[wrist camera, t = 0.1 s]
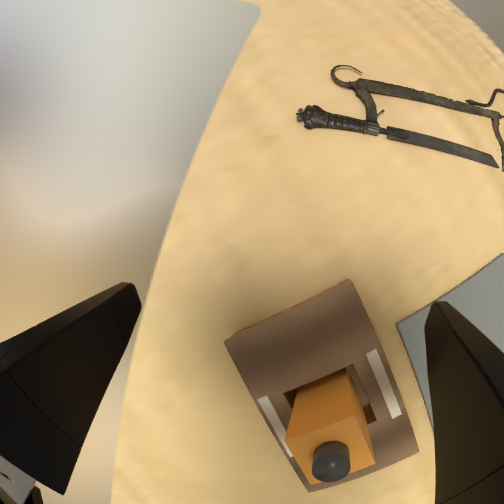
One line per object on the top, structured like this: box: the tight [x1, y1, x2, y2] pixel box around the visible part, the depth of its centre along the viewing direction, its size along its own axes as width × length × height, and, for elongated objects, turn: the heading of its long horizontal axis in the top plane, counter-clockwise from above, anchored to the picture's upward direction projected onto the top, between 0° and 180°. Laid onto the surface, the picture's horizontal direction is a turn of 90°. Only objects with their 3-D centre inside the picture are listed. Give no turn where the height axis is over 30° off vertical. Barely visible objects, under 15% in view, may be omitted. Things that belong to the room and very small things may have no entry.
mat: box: [396, 253, 504, 432], centre depth 18 cm, size 16×12×1 cm
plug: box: [284, 367, 376, 485], centre depth 16 cm, size 4×4×10 cm
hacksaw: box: [296, 65, 504, 172], centre depth 20 cm, size 24×10×2 cm, turn 80°
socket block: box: [224, 279, 419, 492], centre depth 20 cm, size 16×10×3 cm, turn 26°
